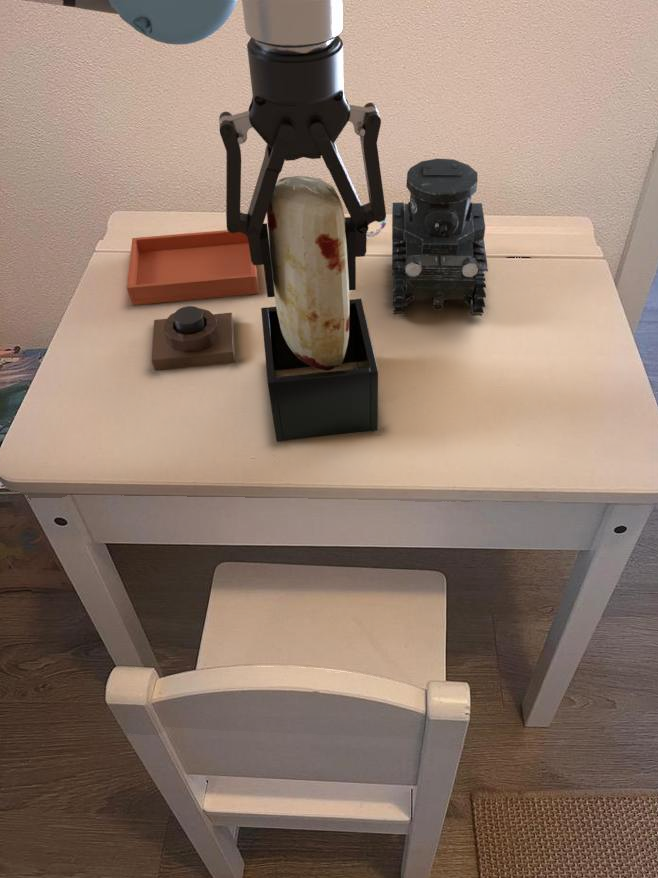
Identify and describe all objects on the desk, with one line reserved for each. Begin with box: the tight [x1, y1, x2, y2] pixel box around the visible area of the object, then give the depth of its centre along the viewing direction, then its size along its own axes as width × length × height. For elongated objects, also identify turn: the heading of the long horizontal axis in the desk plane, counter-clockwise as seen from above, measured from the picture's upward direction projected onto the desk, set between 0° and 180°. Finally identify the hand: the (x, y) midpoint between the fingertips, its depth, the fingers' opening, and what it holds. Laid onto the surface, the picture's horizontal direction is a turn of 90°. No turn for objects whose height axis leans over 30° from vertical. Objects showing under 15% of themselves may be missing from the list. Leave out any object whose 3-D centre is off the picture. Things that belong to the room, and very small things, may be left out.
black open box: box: [260, 298, 379, 443], centre depth 82 cm, size 12×13×9 cm
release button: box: [173, 305, 205, 335], centre depth 89 cm, size 4×4×2 cm
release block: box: [150, 307, 236, 371], centre depth 91 cm, size 10×8×4 cm
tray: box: [126, 229, 259, 306], centre depth 101 cm, size 17×12×3 cm
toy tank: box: [391, 158, 489, 316], centre depth 94 cm, size 12×18×15 cm
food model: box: [266, 175, 350, 372], centre depth 73 cm, size 10×7×20 cm
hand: (310, 285), depth 73 cm, fingers closed on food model, 7 cm apart
